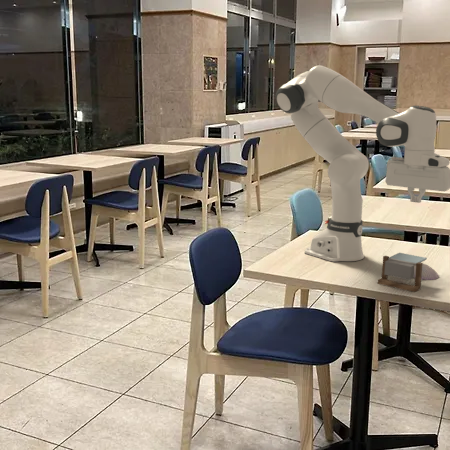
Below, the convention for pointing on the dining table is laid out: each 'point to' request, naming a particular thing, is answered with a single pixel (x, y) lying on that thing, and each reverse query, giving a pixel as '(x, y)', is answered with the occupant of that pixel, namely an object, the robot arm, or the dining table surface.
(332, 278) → the dining table surface
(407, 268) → the trapdoor
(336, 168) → the robot arm
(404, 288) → the frame
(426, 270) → the seashell
